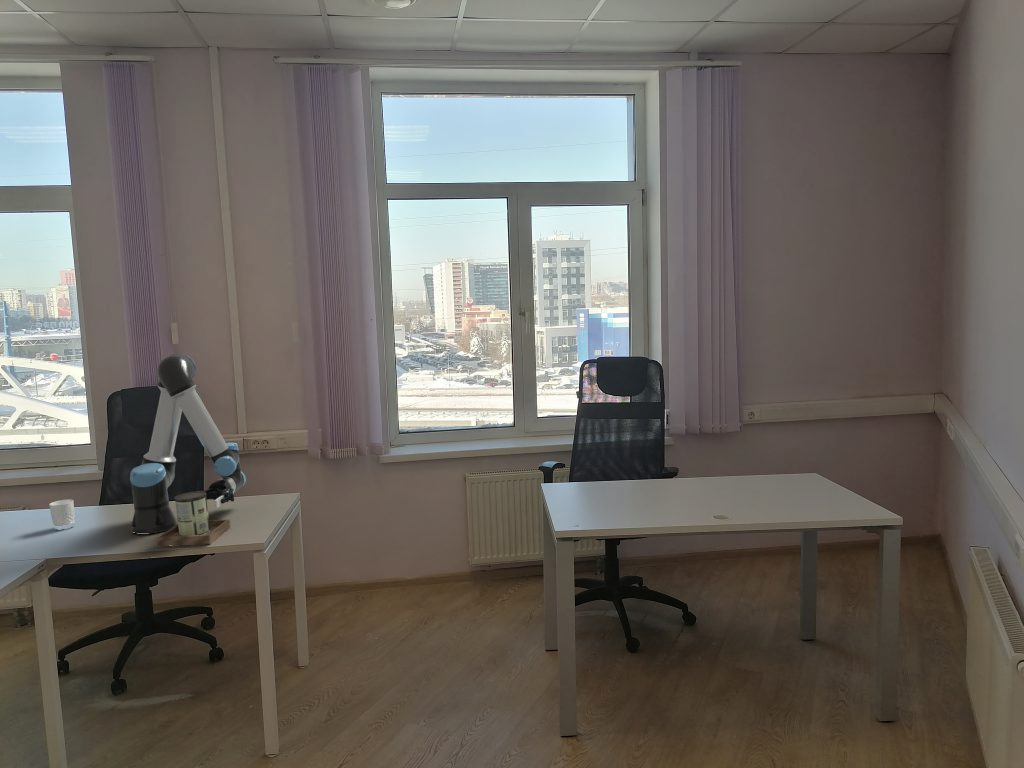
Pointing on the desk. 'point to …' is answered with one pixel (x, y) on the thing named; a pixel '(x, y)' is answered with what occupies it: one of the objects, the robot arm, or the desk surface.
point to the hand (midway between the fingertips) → (196, 505)
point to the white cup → (62, 512)
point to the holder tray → (174, 539)
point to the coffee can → (192, 513)
